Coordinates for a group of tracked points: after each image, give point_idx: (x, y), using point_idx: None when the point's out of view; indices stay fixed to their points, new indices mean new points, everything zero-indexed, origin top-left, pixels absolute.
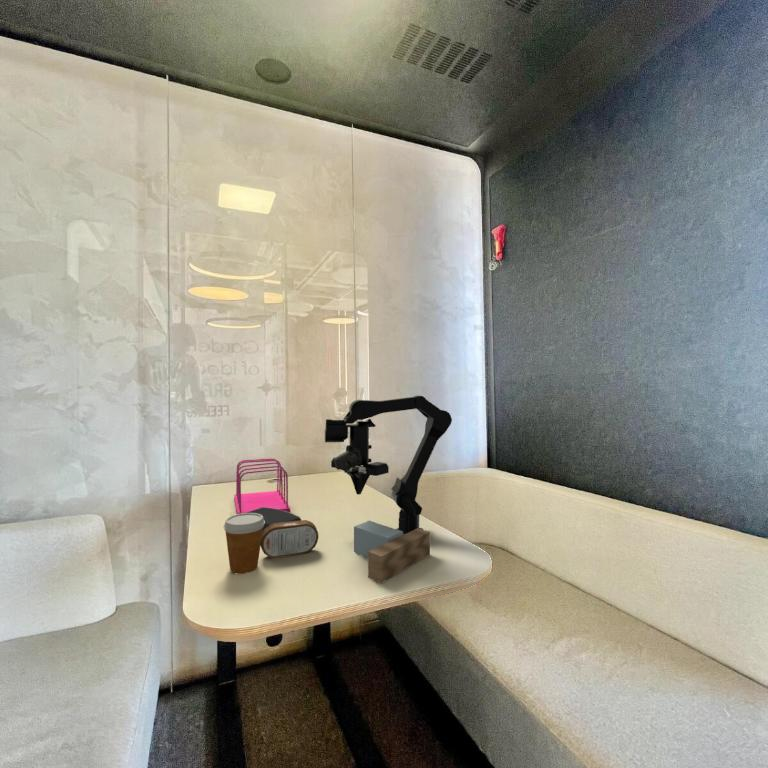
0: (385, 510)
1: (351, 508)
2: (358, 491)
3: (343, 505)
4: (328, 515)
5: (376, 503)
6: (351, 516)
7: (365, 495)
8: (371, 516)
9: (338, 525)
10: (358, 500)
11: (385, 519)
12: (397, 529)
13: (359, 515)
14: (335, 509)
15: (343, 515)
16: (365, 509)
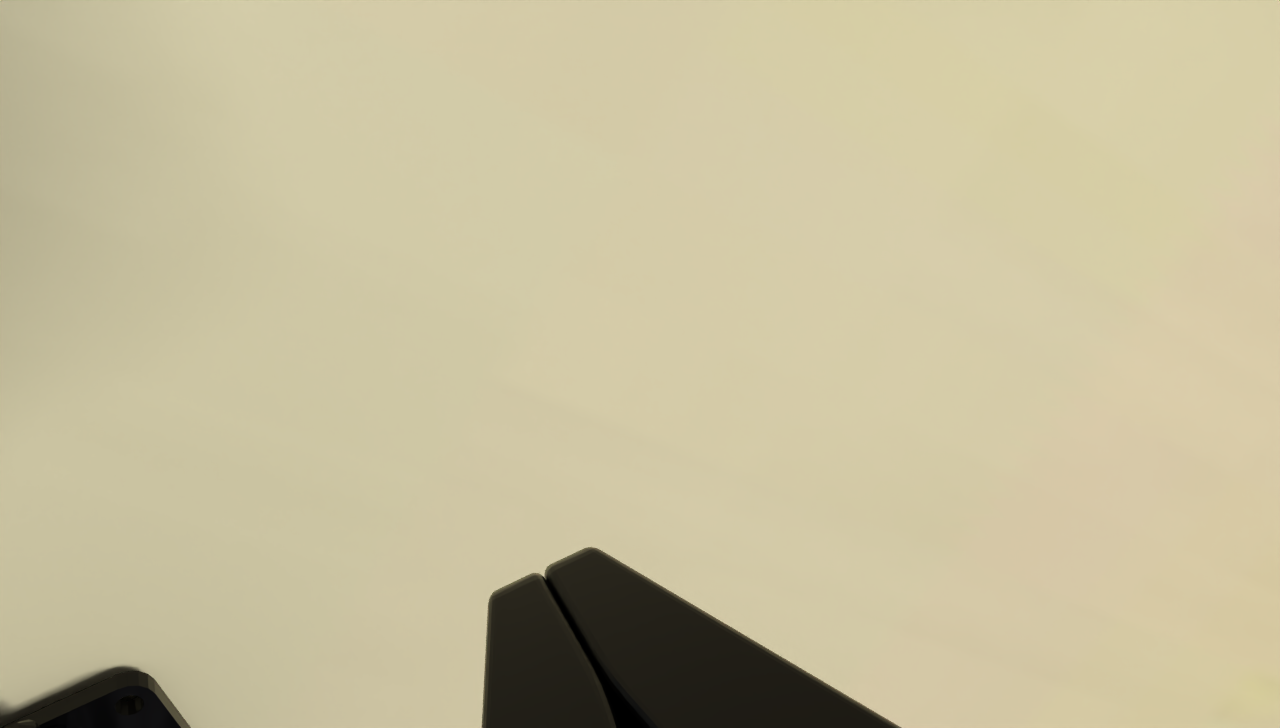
0: None
1: (1151, 424)
2: (498, 681)
3: (1272, 377)
4: (1202, 70)
5: (1063, 691)
6: (973, 331)
7: (1273, 652)
8: (814, 547)
9: (835, 13)
10: (1243, 560)
11: None
12: (127, 717)
13: (932, 431)
14: (1264, 245)
15: (1066, 253)
16: (1023, 550)
